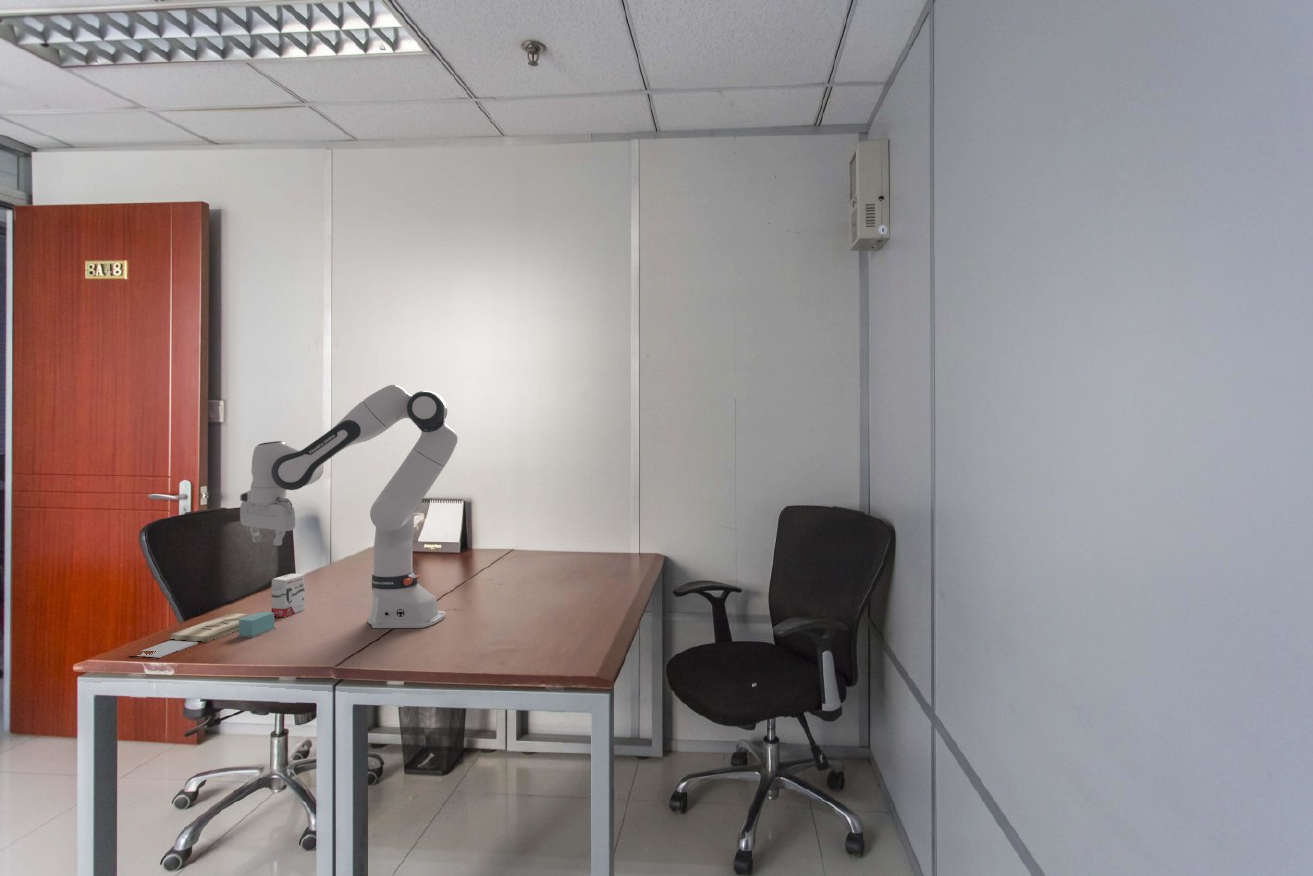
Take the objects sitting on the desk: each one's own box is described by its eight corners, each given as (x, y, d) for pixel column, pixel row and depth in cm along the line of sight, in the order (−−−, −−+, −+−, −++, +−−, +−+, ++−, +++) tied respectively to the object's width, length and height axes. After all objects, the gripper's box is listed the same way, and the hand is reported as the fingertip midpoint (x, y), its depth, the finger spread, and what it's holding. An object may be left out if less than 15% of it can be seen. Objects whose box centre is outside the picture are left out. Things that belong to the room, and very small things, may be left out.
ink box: (284, 618, 188) (284, 580, 188) (270, 617, 189) (270, 579, 189) (305, 610, 196) (305, 573, 196) (292, 609, 197) (292, 573, 197)
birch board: (265, 619, 186) (265, 614, 186) (207, 642, 166) (207, 636, 166) (230, 617, 188) (230, 612, 188) (169, 639, 168) (169, 634, 168)
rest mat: (198, 643, 165) (198, 642, 165) (159, 658, 154) (159, 657, 154) (169, 641, 166) (169, 640, 166) (128, 656, 156) (128, 655, 156)
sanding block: (275, 629, 178) (275, 612, 178) (252, 638, 170) (252, 620, 170) (261, 628, 179) (260, 611, 178) (237, 637, 171) (237, 619, 171)
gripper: (302, 498, 177) (300, 545, 177) (257, 493, 185) (256, 538, 185) (280, 499, 171) (279, 549, 171) (236, 494, 180) (234, 541, 180)
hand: (267, 543), depth 178 cm, fingers open, 8 cm apart
